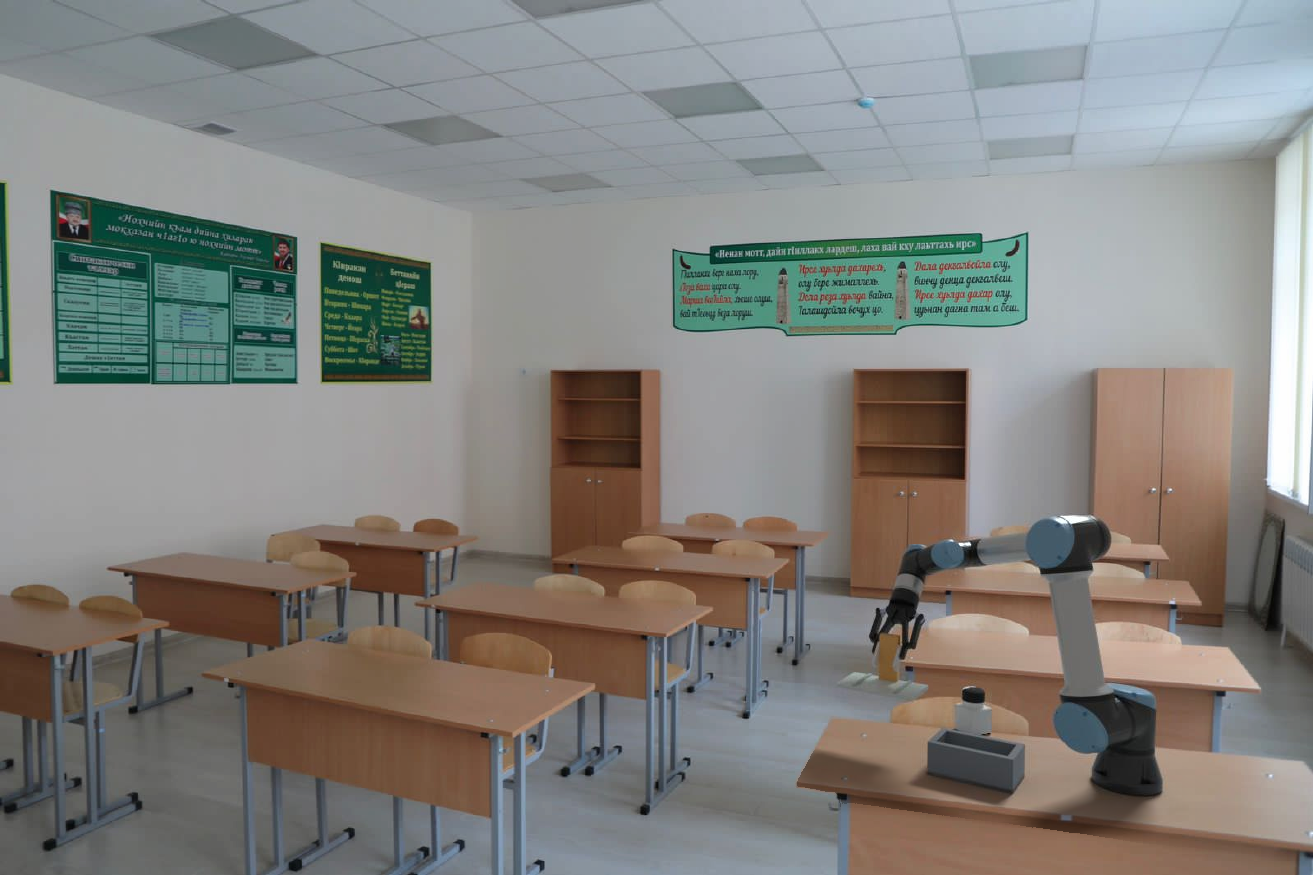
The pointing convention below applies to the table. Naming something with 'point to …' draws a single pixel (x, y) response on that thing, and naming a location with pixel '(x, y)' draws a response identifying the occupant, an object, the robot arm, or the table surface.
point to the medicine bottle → (973, 712)
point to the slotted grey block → (884, 675)
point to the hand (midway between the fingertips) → (884, 666)
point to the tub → (976, 760)
